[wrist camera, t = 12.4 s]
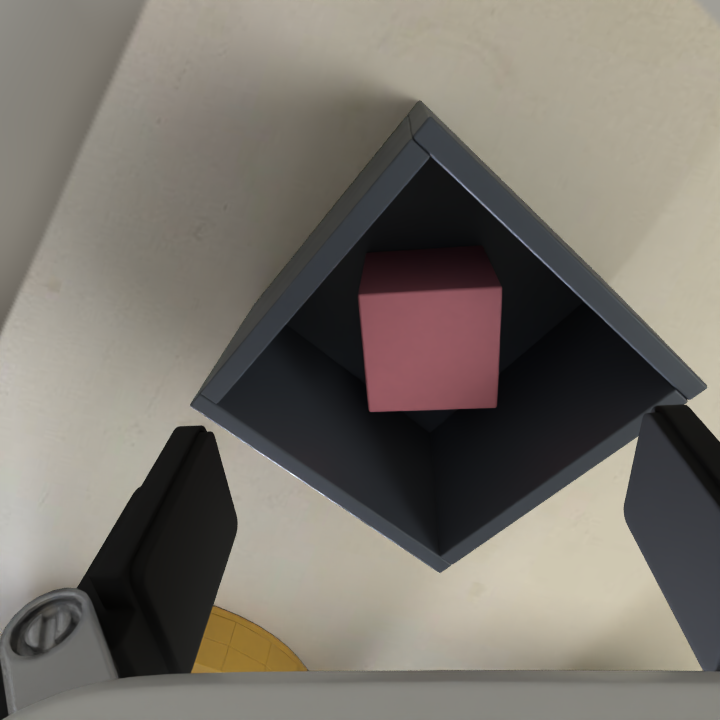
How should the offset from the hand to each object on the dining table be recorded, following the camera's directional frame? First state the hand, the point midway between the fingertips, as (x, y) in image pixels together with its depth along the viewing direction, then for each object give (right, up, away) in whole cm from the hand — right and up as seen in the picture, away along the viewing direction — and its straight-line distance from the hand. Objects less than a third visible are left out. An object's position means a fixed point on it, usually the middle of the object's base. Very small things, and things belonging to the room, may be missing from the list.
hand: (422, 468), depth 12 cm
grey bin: (+1, +5, +10) cm, 11 cm away
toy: (+1, +5, +9) cm, 10 cm away
